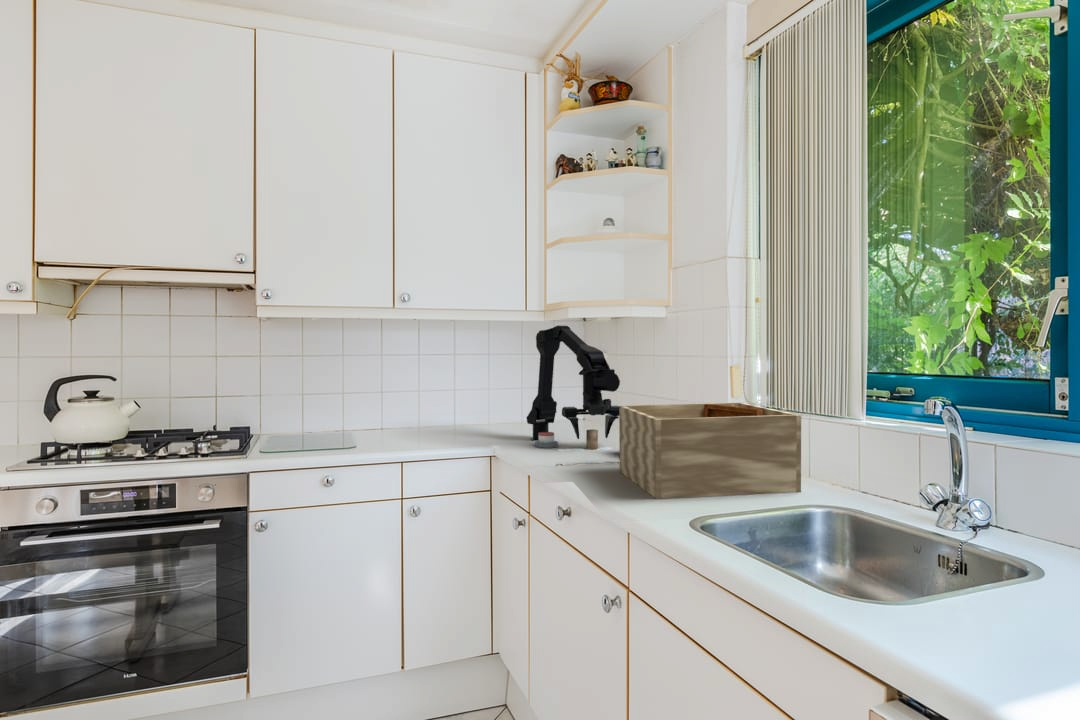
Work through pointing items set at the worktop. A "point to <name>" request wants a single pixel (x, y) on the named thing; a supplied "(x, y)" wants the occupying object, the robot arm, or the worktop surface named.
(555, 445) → the board
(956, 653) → the worktop surface
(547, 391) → the robot arm
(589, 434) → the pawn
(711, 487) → the crate
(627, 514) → the worktop surface
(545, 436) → the dome
